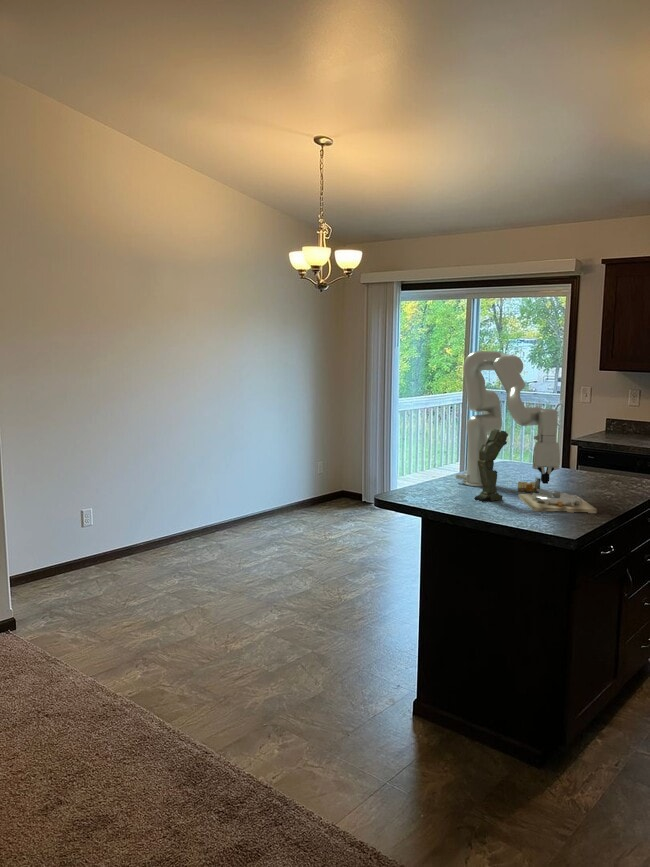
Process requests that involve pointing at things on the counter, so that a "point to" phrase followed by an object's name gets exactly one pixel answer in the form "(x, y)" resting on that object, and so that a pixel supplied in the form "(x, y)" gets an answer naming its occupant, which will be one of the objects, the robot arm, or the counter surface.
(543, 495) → the sprocket
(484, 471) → the mechanical leg
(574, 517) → the counter surface
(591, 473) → the counter surface
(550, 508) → the sprocket plate
